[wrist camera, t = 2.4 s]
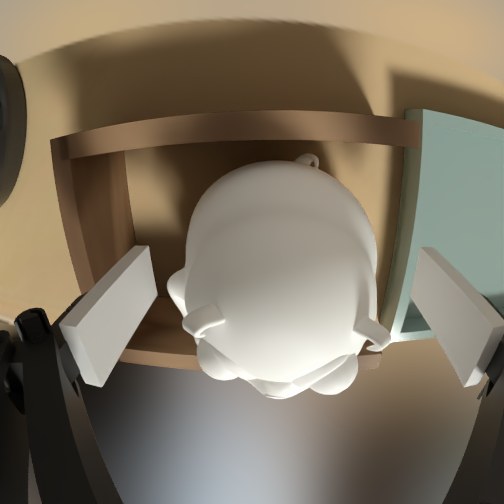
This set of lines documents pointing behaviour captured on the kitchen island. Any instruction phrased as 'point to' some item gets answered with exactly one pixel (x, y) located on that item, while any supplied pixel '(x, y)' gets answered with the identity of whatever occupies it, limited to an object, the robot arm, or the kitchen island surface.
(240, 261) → the figurine
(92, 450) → the robot arm
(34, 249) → the kitchen island surface
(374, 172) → the kitchen island surface
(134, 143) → the wooden open box
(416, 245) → the tray
